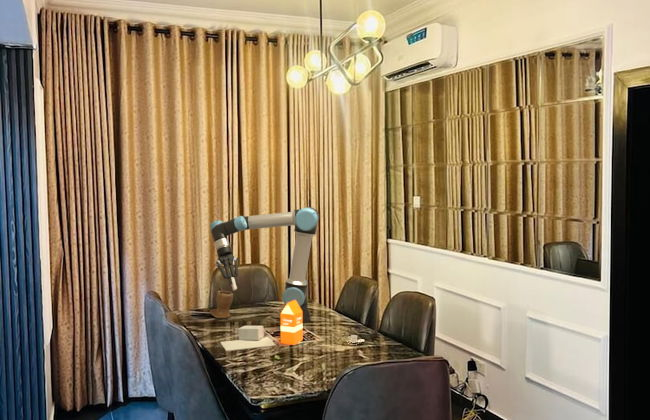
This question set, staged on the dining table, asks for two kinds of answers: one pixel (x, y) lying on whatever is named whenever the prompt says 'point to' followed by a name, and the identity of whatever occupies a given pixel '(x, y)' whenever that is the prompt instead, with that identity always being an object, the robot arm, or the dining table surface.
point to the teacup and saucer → (355, 339)
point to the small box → (251, 332)
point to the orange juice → (291, 324)
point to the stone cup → (222, 304)
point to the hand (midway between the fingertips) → (235, 289)
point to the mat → (247, 344)
